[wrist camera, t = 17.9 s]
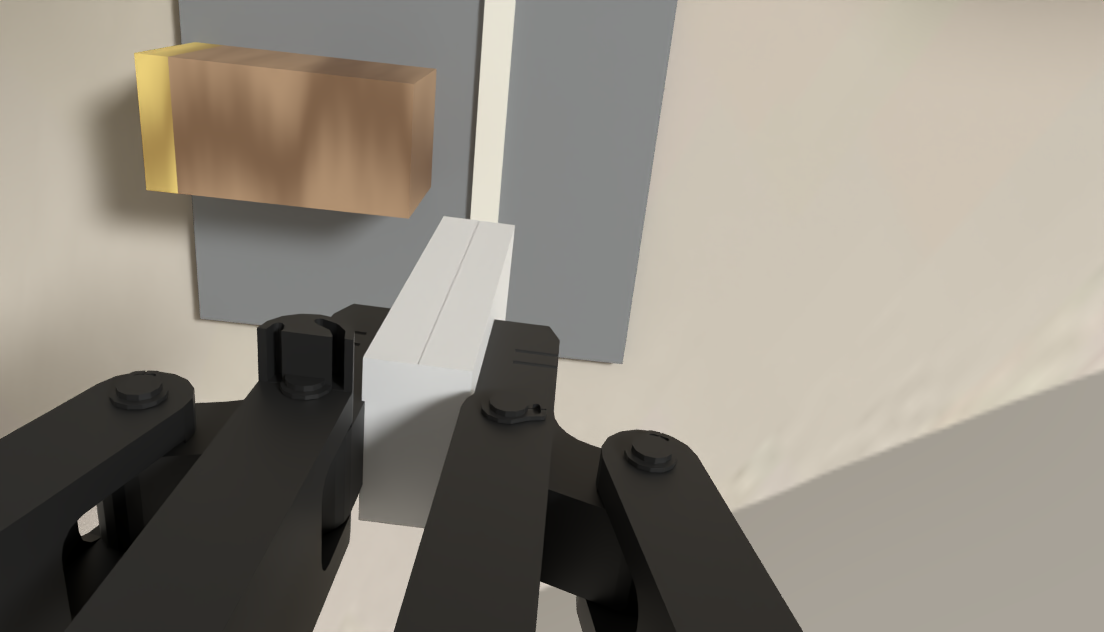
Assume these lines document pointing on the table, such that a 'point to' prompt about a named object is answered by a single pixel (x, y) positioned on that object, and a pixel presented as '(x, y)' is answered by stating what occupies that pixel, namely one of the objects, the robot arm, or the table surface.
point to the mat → (464, 158)
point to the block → (286, 128)
